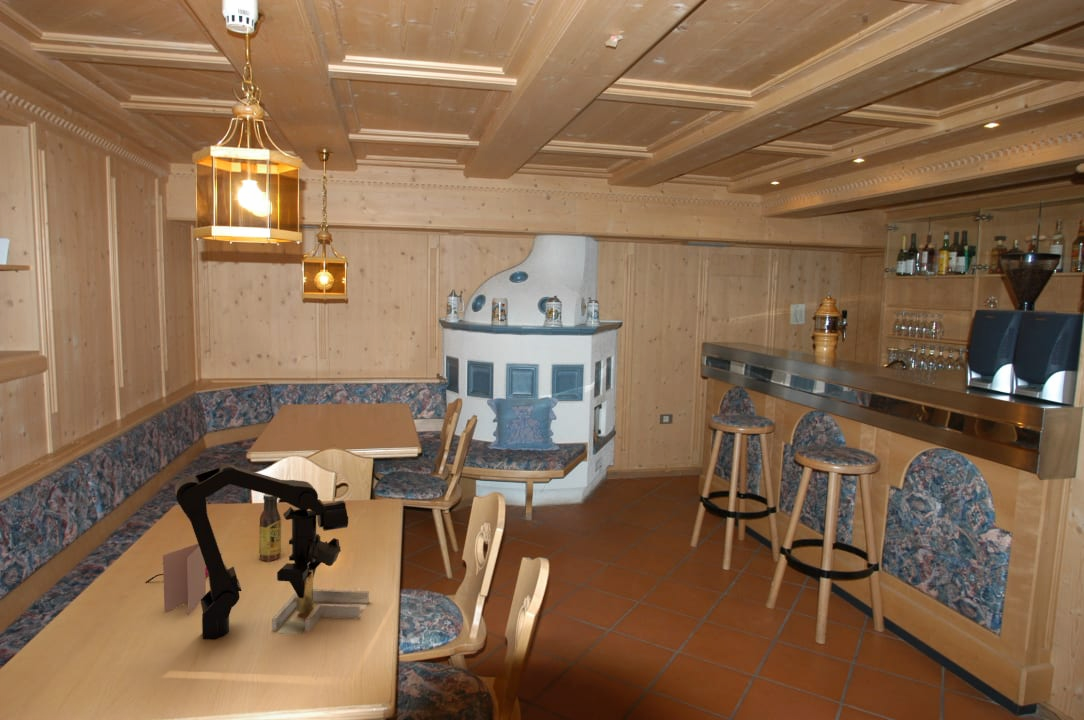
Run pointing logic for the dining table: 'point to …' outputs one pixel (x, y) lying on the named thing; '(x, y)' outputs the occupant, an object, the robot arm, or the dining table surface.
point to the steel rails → (325, 606)
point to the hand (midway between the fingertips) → (304, 593)
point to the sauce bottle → (270, 530)
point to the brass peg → (306, 596)
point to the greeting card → (184, 578)
